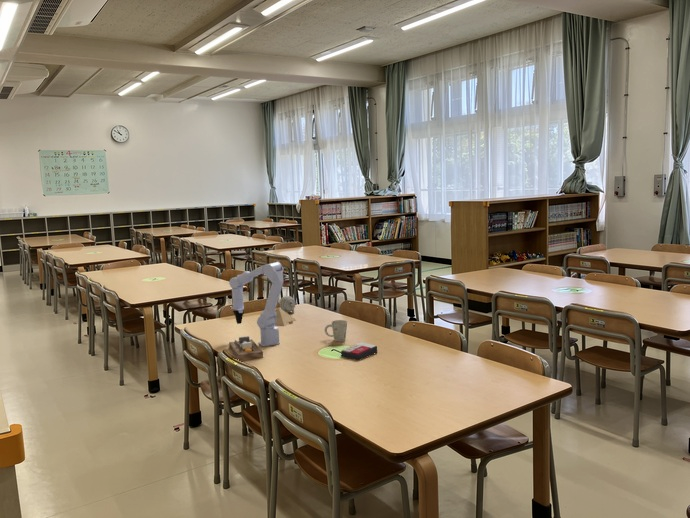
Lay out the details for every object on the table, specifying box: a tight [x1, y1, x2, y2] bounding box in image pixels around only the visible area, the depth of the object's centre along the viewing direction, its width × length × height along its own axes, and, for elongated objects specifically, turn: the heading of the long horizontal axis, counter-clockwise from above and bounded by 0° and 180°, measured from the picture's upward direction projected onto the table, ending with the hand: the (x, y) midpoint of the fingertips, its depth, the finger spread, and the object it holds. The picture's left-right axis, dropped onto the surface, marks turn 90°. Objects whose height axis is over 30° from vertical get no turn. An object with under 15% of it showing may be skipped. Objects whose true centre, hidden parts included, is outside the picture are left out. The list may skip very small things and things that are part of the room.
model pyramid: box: [274, 306, 297, 327], centre depth 333 cm, size 17×17×10 cm
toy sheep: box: [279, 295, 297, 314], centre depth 358 cm, size 11×17×11 cm, turn 34°
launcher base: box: [228, 339, 264, 362], centre depth 273 cm, size 12×24×4 cm, turn 22°
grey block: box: [238, 335, 252, 349], centre depth 272 cm, size 5×8×4 cm, turn 22°
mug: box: [324, 319, 348, 342], centre depth 291 cm, size 8×13×10 cm, turn 78°
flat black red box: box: [340, 341, 378, 361], centre depth 265 cm, size 11×4×15 cm
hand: (239, 323), depth 295 cm, fingers closed
